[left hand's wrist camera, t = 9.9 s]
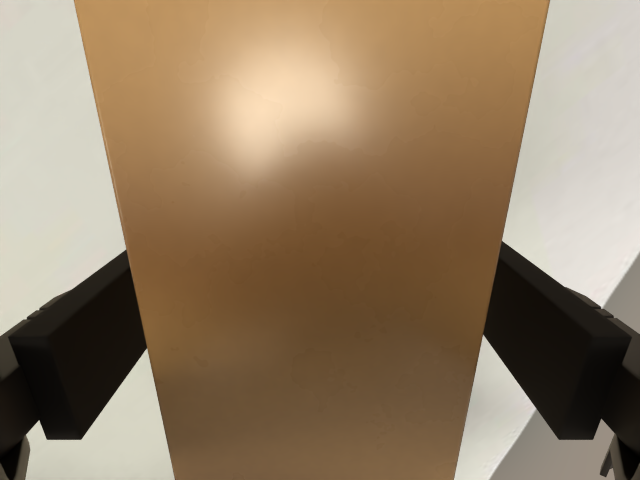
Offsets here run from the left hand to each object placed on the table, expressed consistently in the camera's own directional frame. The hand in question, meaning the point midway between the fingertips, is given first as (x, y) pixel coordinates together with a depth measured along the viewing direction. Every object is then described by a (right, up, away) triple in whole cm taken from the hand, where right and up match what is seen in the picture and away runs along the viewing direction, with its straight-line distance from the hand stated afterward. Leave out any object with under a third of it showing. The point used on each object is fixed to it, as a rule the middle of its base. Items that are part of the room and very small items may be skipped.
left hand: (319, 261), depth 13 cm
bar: (0, +9, -1) cm, 9 cm away
